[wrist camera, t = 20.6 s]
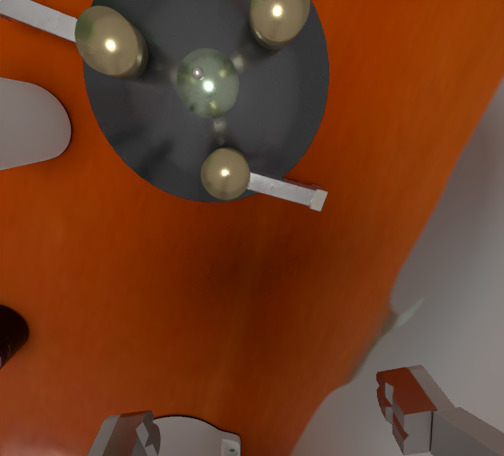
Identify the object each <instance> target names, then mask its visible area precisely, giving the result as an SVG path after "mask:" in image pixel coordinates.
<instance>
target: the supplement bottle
mask: <svg viewBox="0 0 504 456" xmlns="http://www.w3.org/2000/svg"><path fill="white" fill-rule="evenodd" d="M26 339H27V328H26V325H25V323H24V321H23V320H22V319H21V318H20V317H19V316H18V315H17V314H16V313H15V312H13V311H11V310H9V309H7V308H5V307H2V306H0V369H1V368H2V367H3V366H4V365H5V364H6V363H7V362H8V361H9V360H10V359H11V358H12V357H13V356H14V355H15V354H16V352H17V351H18V350H19V349H20V348H21V347H22V346H23V345H24V343H25V341H26Z"/></svg>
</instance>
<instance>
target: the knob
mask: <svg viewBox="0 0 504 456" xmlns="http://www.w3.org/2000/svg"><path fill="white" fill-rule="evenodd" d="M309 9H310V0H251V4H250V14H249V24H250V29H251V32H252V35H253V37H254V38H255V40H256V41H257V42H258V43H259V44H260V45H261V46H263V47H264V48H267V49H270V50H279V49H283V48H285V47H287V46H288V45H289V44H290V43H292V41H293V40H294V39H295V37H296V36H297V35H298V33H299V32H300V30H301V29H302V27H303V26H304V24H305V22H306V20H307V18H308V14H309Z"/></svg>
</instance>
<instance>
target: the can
mask: <svg viewBox="0 0 504 456" xmlns="http://www.w3.org/2000/svg"><path fill="white" fill-rule="evenodd" d="M70 137H71V126H70V121H69V118H68V115H67V113H66V111H65V109H64V107H63V106H62V104H61V103H60V102H59V101H58V100H57V98H56V97H55V96H53V95H52V94H51V93H50V92H48V91H47V90H45V89H44V88H42V87H40V86H37V85H35V84H31V83H27V82H22V81H17V80H11V79H6V78H0V170H3V169H8V168H12V167H17V166H22V165H27V164H31V163H36V162H40V161H45V160H49V159H52V158H55V157H57V156H59V155H60V154H61V153H63V152H64V150H65V149H66V148H67V146H68V144H69V141H70Z"/></svg>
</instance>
